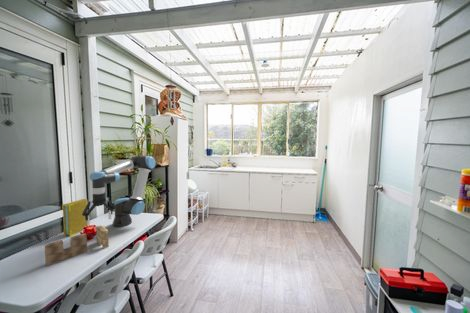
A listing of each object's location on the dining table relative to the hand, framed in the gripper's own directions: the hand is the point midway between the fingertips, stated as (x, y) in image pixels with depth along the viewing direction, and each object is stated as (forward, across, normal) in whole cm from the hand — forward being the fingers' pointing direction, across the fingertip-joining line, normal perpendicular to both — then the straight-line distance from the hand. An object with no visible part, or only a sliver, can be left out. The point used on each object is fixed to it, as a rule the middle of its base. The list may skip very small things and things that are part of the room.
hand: (99, 221), depth 142 cm
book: (+16, +5, -36) cm, 40 cm away
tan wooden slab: (+16, 0, +4) cm, 16 cm away
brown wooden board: (+16, +20, +5) cm, 26 cm away
